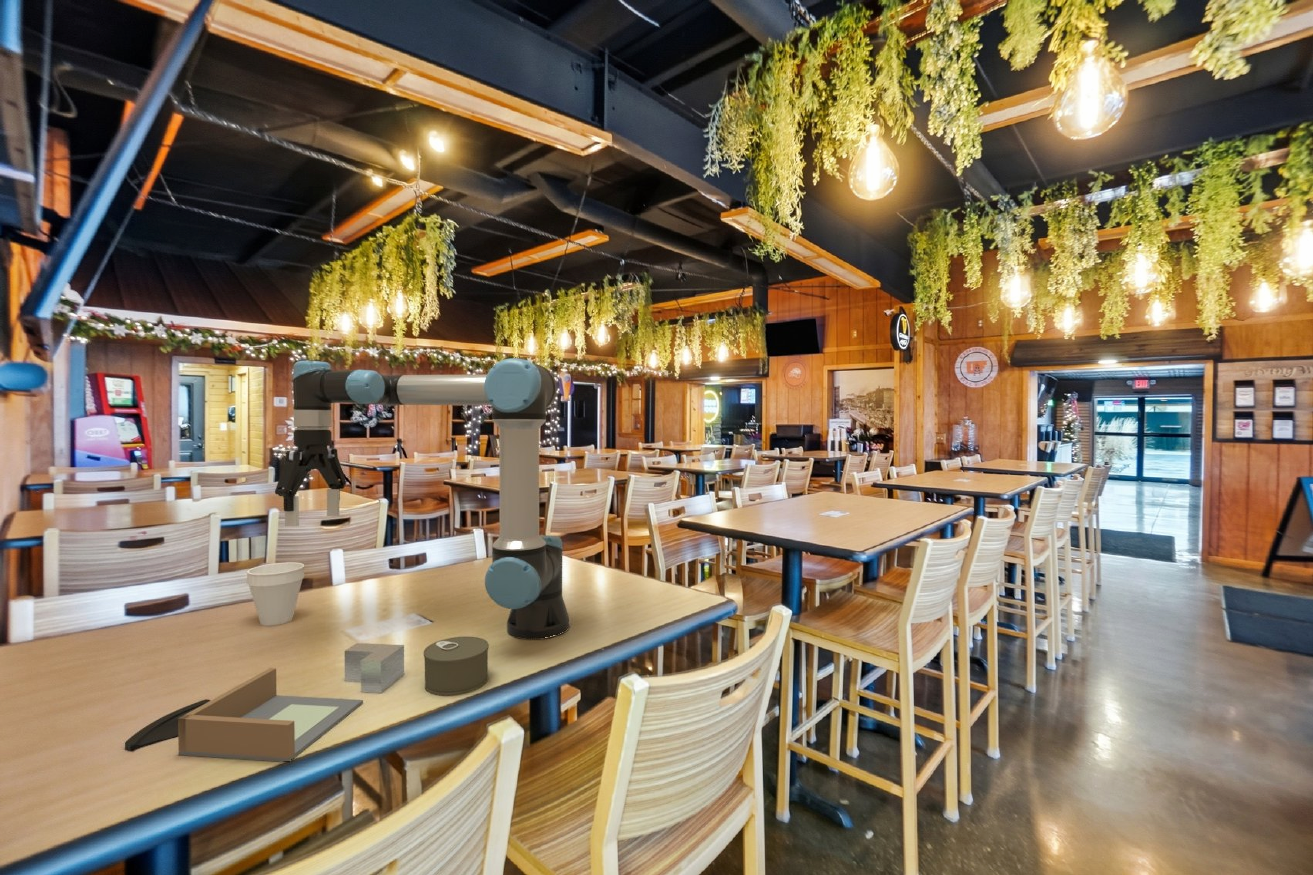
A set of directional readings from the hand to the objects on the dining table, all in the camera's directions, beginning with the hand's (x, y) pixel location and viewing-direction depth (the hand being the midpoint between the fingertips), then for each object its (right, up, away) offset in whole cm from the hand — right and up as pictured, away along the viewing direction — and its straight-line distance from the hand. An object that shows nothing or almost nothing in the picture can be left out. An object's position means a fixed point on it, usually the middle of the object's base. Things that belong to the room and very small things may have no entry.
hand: (313, 520), depth 131 cm
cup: (-18, -28, +14) cm, 36 cm away
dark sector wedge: (0, -30, -36) cm, 47 cm away
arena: (+17, -29, -37) cm, 50 cm away
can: (+40, -29, -20) cm, 53 cm away
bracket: (+23, -29, -20) cm, 42 cm away
